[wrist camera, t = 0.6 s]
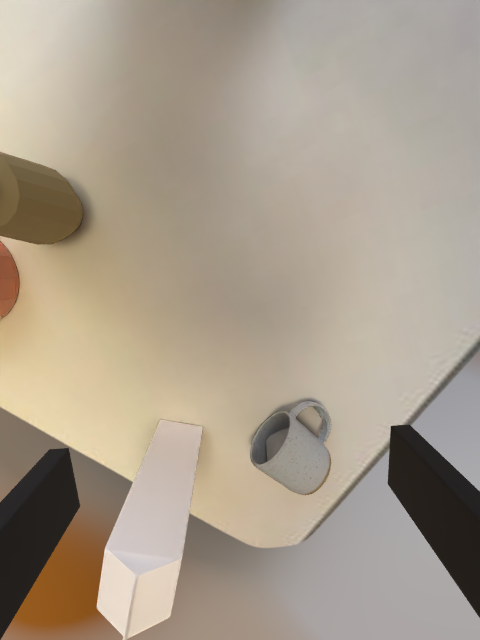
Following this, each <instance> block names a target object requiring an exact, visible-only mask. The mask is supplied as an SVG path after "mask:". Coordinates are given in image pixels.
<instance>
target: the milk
mask: <svg viewBox="0 0 480 640" xmlns="http://www.w3.org/2000/svg"><path fill="white" fill-rule="evenodd" d="M202 430H203V427H202V426H196V425H190V424H184V423H178V422H172V421H167V420H160V421H159V423H158V426H157V428H156V430H155V433H154V435H153V437H152V440H151V442H150V444H149V447H148V449H147V451H146V454H145V456H144V458H143V461H142V463H141V465H140V468H139V470H138V472H137V475H136V477H135V479H134V482H133V484H132V486H131V489H130V491H129V493H128V496H127V498H126V500H125V503H124V505H123V507H122V510H121V512H120V514H119V517H118V519H117V521H116V524H115V526H114V528H113V531H112V533H111V536H110V538H109V540H108V542H107V545H106V547H105V552H104V559H103V566H102V573H101V580H100V587H99V594H98V601H97V609H98V610H99V611H100V613H102V615H103V616H104V617H106V619H107V620H108V621H109V622H110V623H111V624H112V625H113V626H114V627H115V628H116V629H117V630H118V631H119V632H120V633H121V634H122V635H123V640H127V639H128V638H129V637H131V636H134V635H136V634H138V633H139V632H142V631H144V630H146V629H148V628H149V627H152V626H154V625H155V624H158V623H160V622H161V621H163V620H165V619H167V618H169V617H170V615H171V610H172V605H173V600H174V595H175V590H176V585H177V580H178V576H179V571H180V566H181V561H182V556H183V549H184V543H185V537H186V531H187V524H188V518H189V512H190V506H191V499H192V493H193V487H194V480H195V474H196V468H197V462H198V455H199V449H200V443H201V437H202Z"/></svg>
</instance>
